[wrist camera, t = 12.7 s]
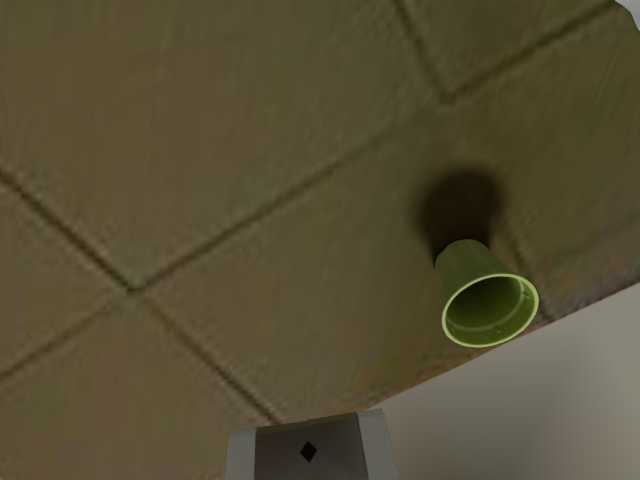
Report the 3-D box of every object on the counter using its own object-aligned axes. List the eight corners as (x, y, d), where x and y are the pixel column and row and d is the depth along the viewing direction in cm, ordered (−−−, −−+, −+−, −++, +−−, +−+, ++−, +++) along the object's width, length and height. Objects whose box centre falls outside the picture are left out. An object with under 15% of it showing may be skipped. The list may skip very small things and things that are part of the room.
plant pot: (502, 284, 57) (536, 337, 50) (423, 301, 57) (445, 355, 50) (503, 217, 52) (541, 264, 44) (415, 235, 52) (439, 285, 45)
